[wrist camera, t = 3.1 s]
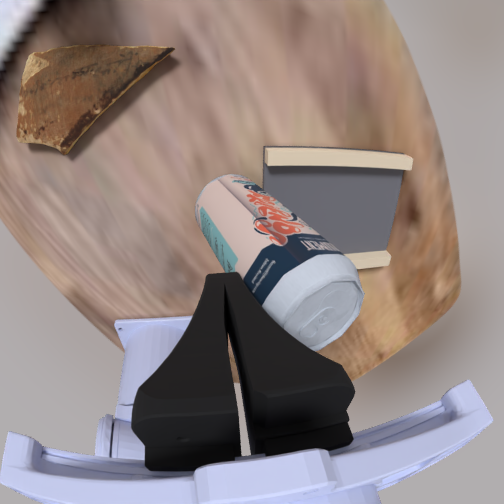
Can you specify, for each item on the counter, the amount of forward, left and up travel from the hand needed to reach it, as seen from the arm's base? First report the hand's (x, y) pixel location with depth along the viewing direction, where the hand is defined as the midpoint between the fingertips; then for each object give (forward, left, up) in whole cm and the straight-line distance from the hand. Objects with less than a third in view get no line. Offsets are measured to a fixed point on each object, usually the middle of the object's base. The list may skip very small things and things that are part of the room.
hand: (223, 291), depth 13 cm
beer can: (0, -1, -10) cm, 10 cm away
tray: (-1, -9, -10) cm, 14 cm away
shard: (+10, +9, -11) cm, 18 cm away
